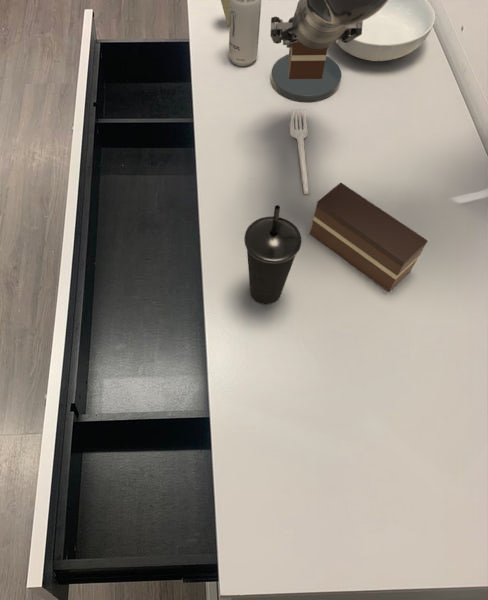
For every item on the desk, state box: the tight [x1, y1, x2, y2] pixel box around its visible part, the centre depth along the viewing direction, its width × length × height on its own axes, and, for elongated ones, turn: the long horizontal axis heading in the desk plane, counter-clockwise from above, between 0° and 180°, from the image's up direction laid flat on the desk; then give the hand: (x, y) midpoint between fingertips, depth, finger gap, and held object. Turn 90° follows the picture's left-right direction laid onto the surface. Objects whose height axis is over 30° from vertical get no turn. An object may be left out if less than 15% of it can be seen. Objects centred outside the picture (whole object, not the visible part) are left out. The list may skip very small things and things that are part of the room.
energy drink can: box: [228, 0, 262, 67], centre depth 106 cm, size 6×6×15 cm
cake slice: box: [288, 43, 329, 79], centre depth 88 cm, size 6×5×8 cm
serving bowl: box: [336, 0, 436, 62], centre depth 110 cm, size 21×21×7 cm
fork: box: [289, 109, 309, 195], centre depth 97 cm, size 3×20×2 cm, turn 178°
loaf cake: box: [309, 182, 428, 293], centre depth 82 cm, size 6×16×8 cm, turn 42°
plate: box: [270, 53, 343, 103], centre depth 108 cm, size 14×14×2 cm
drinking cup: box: [243, 204, 303, 305], centre depth 74 cm, size 8×8×20 cm
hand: (307, 40), depth 89 cm, fingers closed on cake slice, 5 cm apart
